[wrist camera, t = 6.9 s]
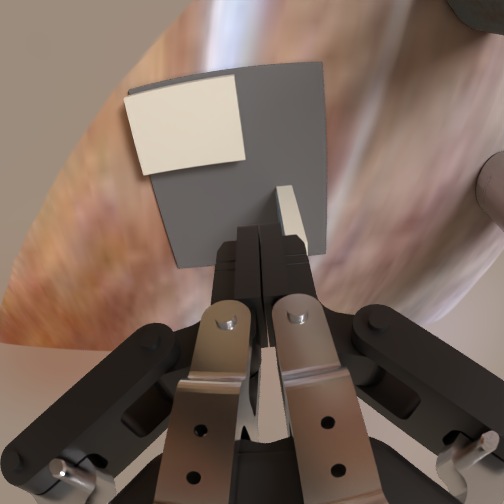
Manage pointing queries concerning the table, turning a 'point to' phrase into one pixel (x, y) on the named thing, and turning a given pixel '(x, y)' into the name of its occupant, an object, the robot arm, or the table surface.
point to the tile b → (289, 213)
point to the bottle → (480, 14)
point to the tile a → (186, 124)
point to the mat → (252, 164)
